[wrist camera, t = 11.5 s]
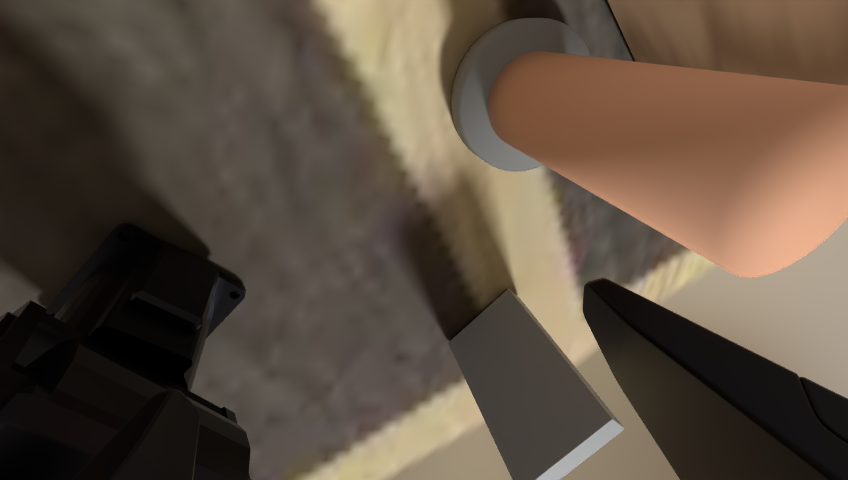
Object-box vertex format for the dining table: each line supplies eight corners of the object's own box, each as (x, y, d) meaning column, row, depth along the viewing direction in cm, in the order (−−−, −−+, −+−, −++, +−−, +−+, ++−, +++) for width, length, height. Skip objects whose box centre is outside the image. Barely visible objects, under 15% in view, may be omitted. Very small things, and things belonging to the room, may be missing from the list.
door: (713, 133, 24) (933, 191, 16) (679, 163, 25) (876, 235, 16) (624, -110, 16) (963, -249, 8) (576, -59, 17) (851, -141, 8)
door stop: (486, 186, 22) (686, 361, 11) (426, 73, 18) (638, 157, 7) (590, 116, 22) (912, 218, 10) (551, -15, 18) (995, -81, 6)
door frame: (461, 351, 28) (534, 499, 19) (448, 342, 27) (518, 492, 18) (738, 103, 24) (985, 148, 15) (733, 85, 23) (989, 122, 15)
